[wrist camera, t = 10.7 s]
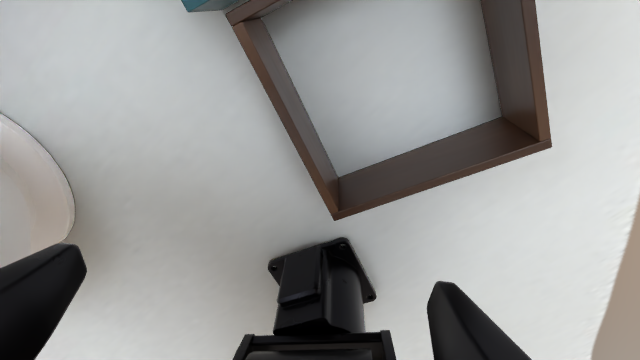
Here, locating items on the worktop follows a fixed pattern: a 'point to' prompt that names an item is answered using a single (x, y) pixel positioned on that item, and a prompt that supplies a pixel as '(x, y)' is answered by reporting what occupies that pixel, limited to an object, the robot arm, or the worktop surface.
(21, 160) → the decorative vase
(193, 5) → the teal tote
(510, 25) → the walnut frame
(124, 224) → the worktop surface
